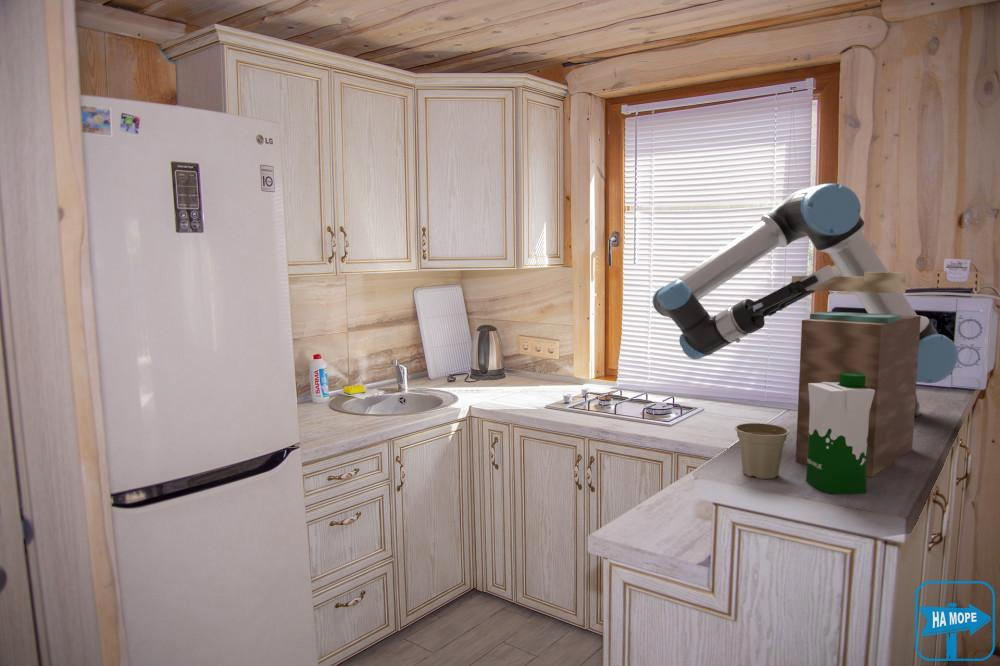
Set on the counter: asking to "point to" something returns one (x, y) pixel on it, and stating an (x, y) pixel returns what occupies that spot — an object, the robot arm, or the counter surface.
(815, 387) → the milk carton
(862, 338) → the walnut shelf
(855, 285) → the oak bar
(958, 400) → the counter surface
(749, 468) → the flower pot
